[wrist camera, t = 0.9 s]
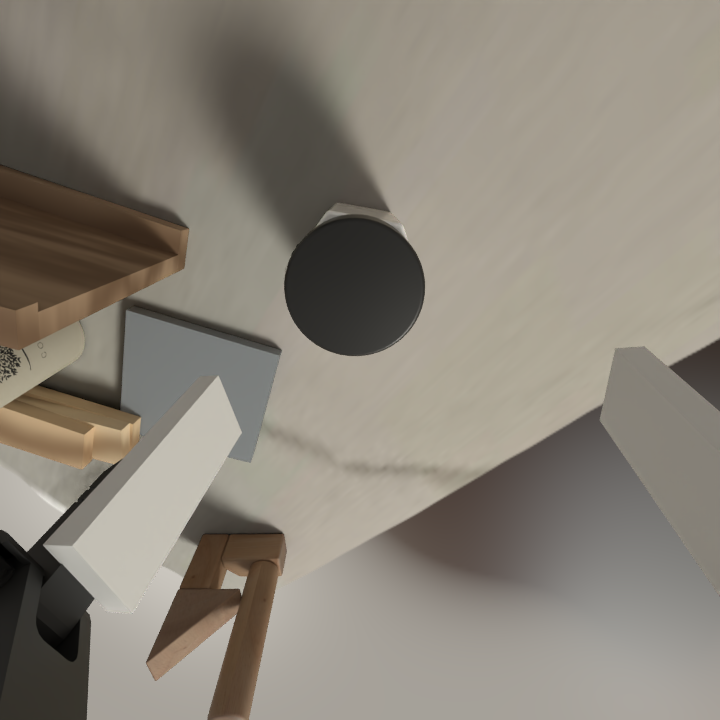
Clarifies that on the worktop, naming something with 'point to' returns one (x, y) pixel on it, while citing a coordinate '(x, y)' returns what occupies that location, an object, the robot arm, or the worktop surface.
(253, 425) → the mat
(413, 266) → the jar
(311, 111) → the worktop surface
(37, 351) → the travel mug
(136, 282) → the wooden board
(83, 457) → the offcut stack
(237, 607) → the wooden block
